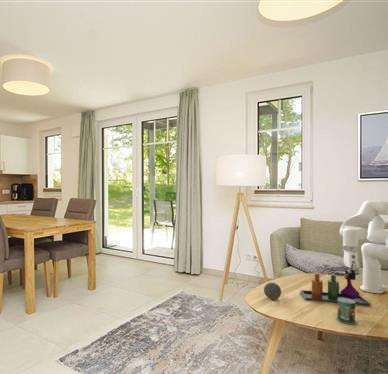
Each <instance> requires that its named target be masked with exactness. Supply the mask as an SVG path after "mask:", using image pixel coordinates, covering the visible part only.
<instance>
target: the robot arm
mask: <svg viewBox="0 0 388 374" xmlns="http://www.w3.org/2000/svg"><path fill="white" fill-rule="evenodd" d="M382 216H388V201H385V200H365V201H364V202H363V203H362V204H361V206H360V208H359V210H358V211H357V214H354V215H352V216H350V217H348V218H346V219H345V220H343V223H342V224H341V226H340V228H339V234H340V236H341V237H342V251H343V264H344V266H345V267H344V271H345V272H344V273H345V274H349V279H350V280H351V281H353V280H354V281H355V280H356V273H357V270H359V255H358V252H359V241H360V240H361V241H363V240H365V239H367V241H369V242H365V243H363V244H362V245H361V248H360V249H361V250H360V251H361V254H362V255H361V256H362V285H360V286H359V289H360V290H361V291H363V292H367V293H370V294H371V293H372V294H383V293H384V292H385V291H384V290H388V285H385V284H382V283H381V281H382V280H381V279H382V278H381V277H382V271H381V270H382V265H381V263H380V261H379V260H383V261H388V229H387V228H385V226H386V221H385V220H384V218H383V217H382ZM363 225H368V227H367V228H365V227H362V226H363ZM359 226H361V227H359ZM347 269H349V271H350V272H349V273H348V272H347ZM351 269H352V270H351ZM345 274H344V277H345V276H346V275H345Z"/></svg>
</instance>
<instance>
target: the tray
mask: <svg viewBox="0 0 388 374" xmlns="http://www.w3.org/2000/svg"><path fill="white" fill-rule="evenodd" d="M300 294H301V295H302V297H303V298H304V300H305V301H311V302H319V303H320V302H322V303H332V304H337V300H330V299H328V291H323V298H322V299H319V298H313V297H312V296H311V295H312V290H306V289H305V290H304V289H300ZM340 297H344V296H343V295H342V294H341V293H340V292H339V298H340ZM353 300H354V301H355V306H365V307H371V303H370V302H369V301H368V300H366V299H365V297H363V296H362V295H361V294H359V295H358V296H357V297H356V298H355V299H353Z"/></svg>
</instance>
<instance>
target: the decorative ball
mask: <svg viewBox="0 0 388 374" xmlns="http://www.w3.org/2000/svg"><path fill="white" fill-rule="evenodd" d="M263 292H264V295H265V296H266V297H267V298H268V299H270V300H277V299H279V298H280V297H281V295H282V289H281V287H280V286H279V285H278V283H275V282H267V283H266V284H264V287H263Z"/></svg>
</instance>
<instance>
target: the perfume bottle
mask: <svg viewBox="0 0 388 374" xmlns="http://www.w3.org/2000/svg"><path fill="white" fill-rule="evenodd" d="M351 270H353V269H351ZM347 272H348V273H349V272H350V271H349V269H347ZM345 275H346V276H345ZM344 279H345V280H346V286H345V287H344V288H343V289H342V290H340V291H339V293H341V294H342V295H343V296H344V298H349V299H352V300H353V299H355V298H356V297H357V296H358V295H361V294H360V292H359V291H358V290H357V289H356V288H355V287H354V285H353V284H352V280H350V279H349V274H344Z"/></svg>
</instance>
